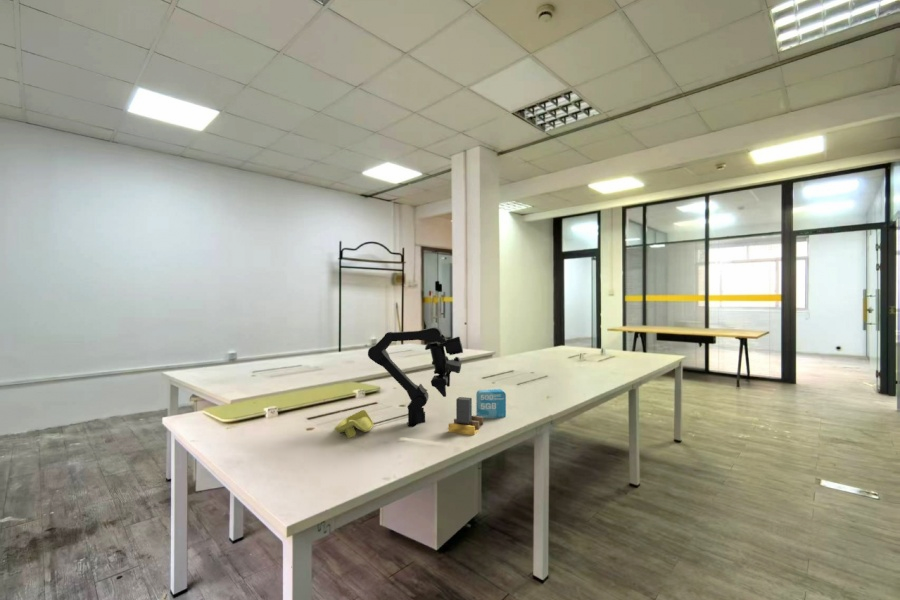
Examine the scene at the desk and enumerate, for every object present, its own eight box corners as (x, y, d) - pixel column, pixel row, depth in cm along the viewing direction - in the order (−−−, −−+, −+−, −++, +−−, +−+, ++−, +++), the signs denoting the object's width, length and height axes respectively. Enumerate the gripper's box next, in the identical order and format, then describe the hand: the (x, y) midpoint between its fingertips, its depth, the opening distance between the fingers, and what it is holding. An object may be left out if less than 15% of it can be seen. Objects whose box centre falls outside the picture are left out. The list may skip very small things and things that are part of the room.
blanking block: (456, 430, 144) (456, 399, 144) (459, 427, 147) (459, 396, 147) (468, 432, 142) (468, 400, 142) (471, 429, 145) (471, 397, 145)
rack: (448, 434, 143) (448, 423, 143) (459, 424, 155) (459, 414, 155) (474, 437, 139) (473, 426, 139) (483, 426, 151) (483, 416, 152)
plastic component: (344, 418, 155) (366, 407, 156) (352, 435, 155) (374, 424, 155) (330, 431, 135) (355, 418, 136) (339, 450, 135) (364, 437, 135)
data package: (478, 420, 160) (478, 392, 160) (476, 417, 164) (476, 389, 164) (506, 419, 161) (505, 391, 161) (503, 416, 166) (503, 389, 166)
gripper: (454, 363, 145) (462, 400, 148) (460, 346, 163) (468, 379, 166) (426, 367, 147) (435, 403, 150) (436, 349, 165) (443, 382, 168)
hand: (446, 391), depth 159 cm, fingers open, 9 cm apart
